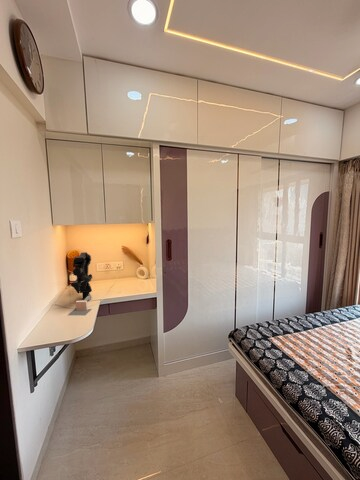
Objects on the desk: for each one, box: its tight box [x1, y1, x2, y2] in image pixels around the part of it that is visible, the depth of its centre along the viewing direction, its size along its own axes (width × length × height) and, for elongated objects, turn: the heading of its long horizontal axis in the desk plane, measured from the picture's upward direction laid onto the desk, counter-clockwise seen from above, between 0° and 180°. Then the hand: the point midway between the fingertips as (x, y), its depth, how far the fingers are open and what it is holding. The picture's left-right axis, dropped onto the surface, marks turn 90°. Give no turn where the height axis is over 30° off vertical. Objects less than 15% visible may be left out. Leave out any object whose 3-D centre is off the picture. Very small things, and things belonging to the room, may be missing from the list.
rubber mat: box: [67, 308, 93, 316], centre depth 156 cm, size 10×14×1 cm
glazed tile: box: [75, 300, 89, 311], centre depth 159 cm, size 2×8×7 cm, turn 87°
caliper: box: [73, 293, 92, 310], centre depth 168 cm, size 20×1×6 cm, turn 168°
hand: (81, 291), depth 166 cm, fingers open, 9 cm apart
